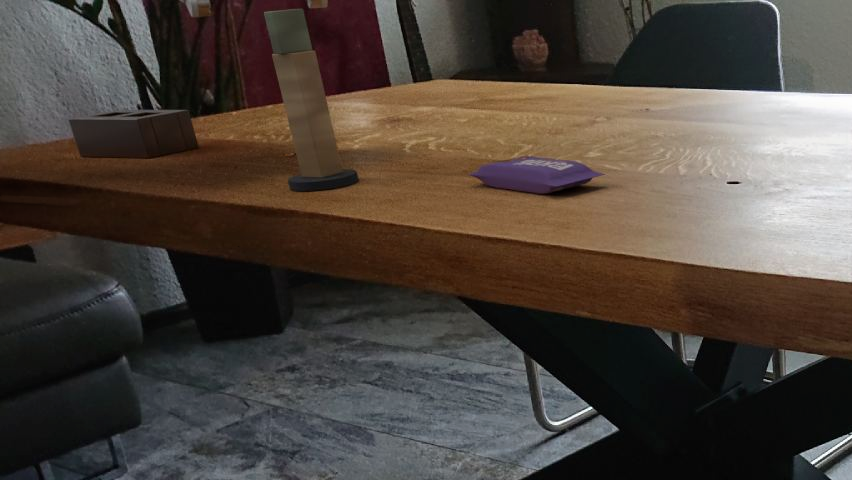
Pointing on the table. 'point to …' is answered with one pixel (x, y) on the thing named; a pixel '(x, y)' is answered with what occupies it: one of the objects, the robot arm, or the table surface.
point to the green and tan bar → (303, 94)
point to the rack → (134, 133)
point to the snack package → (535, 174)
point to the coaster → (323, 181)
